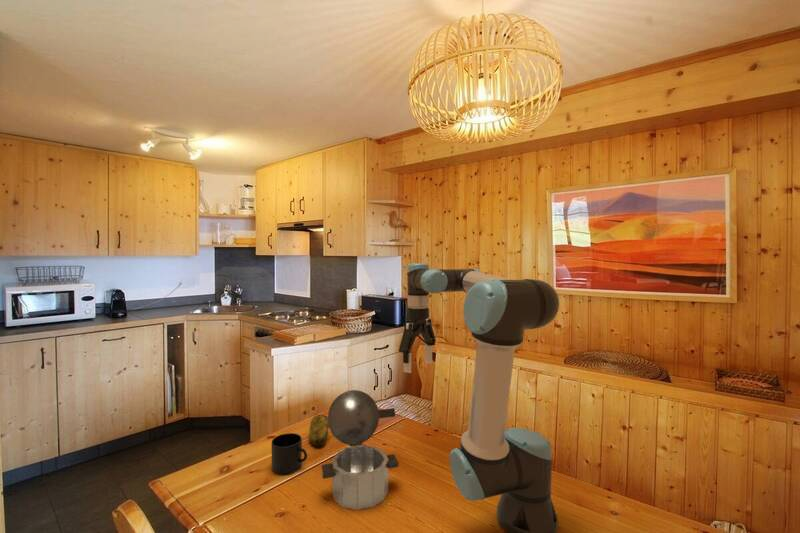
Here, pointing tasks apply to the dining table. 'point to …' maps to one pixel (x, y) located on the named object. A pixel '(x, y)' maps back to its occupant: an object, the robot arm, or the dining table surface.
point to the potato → (318, 430)
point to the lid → (355, 417)
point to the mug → (287, 453)
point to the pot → (359, 476)
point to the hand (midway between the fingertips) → (418, 367)
